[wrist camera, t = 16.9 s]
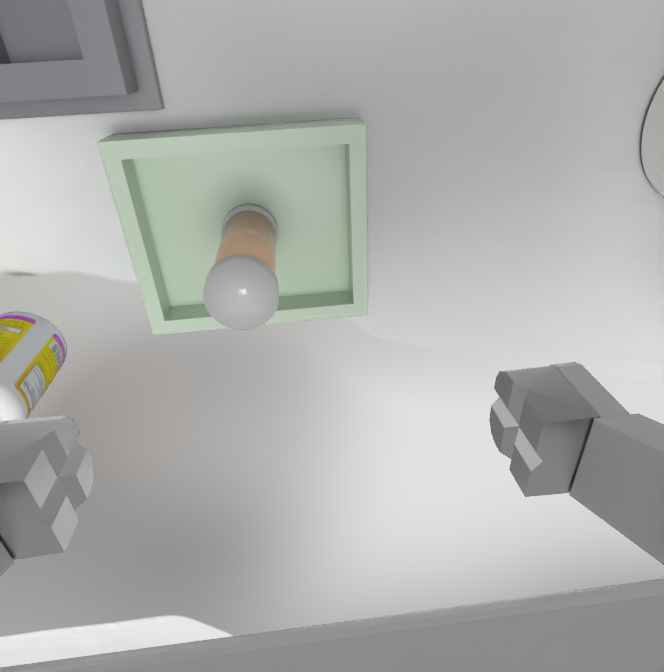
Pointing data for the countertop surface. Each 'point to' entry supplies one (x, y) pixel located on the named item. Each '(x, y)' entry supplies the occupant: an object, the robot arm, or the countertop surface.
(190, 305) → the parts tray
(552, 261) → the countertop surface
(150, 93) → the socket block
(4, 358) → the supplement bottle
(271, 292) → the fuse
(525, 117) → the countertop surface
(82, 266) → the countertop surface
